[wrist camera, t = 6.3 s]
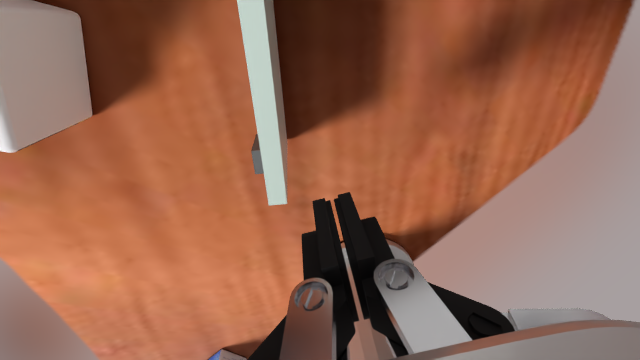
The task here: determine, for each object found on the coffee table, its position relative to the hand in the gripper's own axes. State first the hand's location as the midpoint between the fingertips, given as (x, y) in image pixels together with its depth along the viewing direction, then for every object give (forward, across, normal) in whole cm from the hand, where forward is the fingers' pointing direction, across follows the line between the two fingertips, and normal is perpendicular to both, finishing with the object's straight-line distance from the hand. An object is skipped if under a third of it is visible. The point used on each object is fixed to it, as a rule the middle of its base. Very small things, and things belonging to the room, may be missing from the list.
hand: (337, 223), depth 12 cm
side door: (+12, +2, -7) cm, 14 cm away
